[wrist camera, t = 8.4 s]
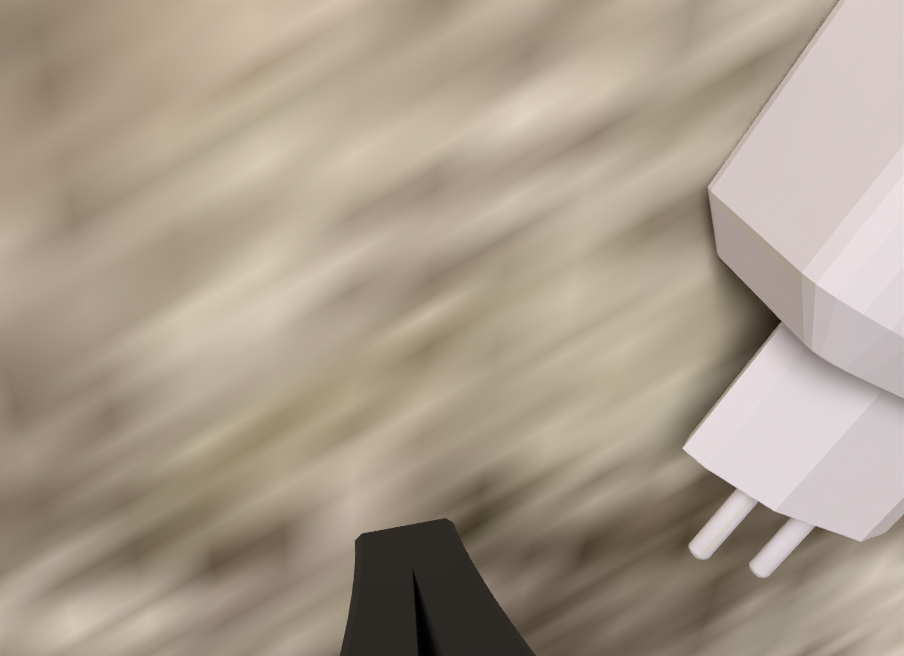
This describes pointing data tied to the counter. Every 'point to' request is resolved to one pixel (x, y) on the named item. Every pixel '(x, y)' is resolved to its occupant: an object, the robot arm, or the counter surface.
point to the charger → (818, 294)
